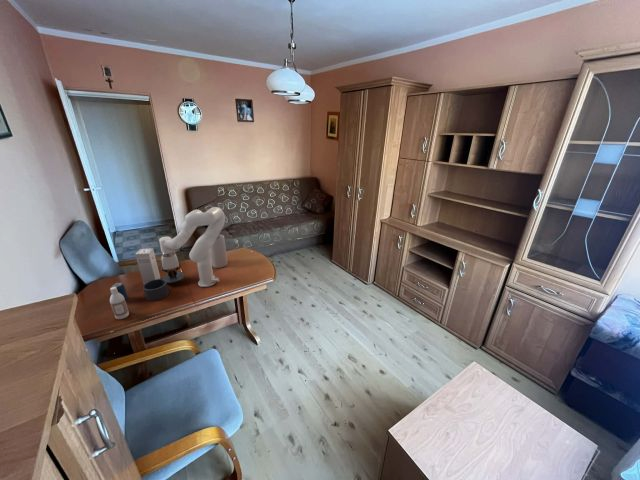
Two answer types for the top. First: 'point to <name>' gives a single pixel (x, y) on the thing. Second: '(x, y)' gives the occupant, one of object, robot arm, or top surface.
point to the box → (147, 265)
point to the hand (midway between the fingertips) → (173, 276)
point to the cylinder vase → (219, 253)
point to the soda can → (120, 289)
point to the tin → (155, 289)
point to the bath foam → (118, 304)
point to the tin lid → (173, 276)
